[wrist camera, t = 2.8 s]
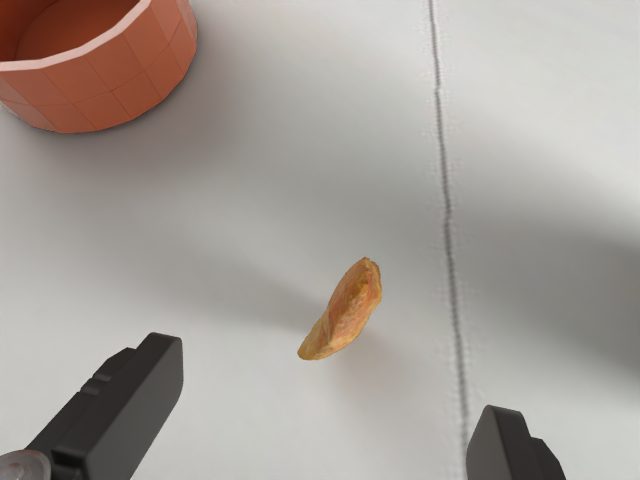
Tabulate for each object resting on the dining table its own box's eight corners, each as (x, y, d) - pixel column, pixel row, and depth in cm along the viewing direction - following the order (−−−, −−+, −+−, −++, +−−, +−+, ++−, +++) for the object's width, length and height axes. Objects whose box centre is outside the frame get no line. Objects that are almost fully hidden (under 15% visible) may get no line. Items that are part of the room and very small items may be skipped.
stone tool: (328, 379, 25) (322, 378, 10) (298, 355, 25) (254, 322, 11) (376, 312, 26) (430, 230, 12) (347, 290, 26) (364, 186, 12)
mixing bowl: (203, -30, 36) (174, -121, 30) (194, 130, 31) (157, 61, 24) (18, -17, 36) (-52, -105, 30) (-23, 144, 31) (-120, 80, 24)
